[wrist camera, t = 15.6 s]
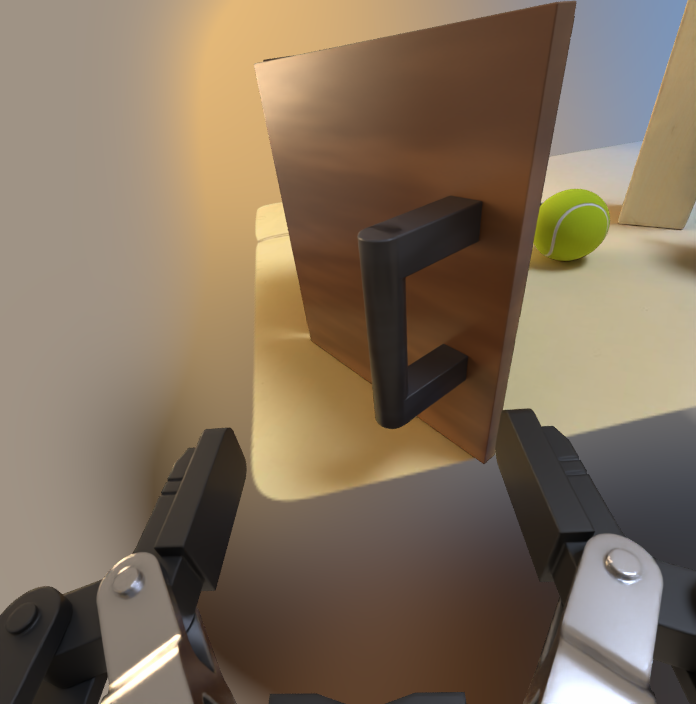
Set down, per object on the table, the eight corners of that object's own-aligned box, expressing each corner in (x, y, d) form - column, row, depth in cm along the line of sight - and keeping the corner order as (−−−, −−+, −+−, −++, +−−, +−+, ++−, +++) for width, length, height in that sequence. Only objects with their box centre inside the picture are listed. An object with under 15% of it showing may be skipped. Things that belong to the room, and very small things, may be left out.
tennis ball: (516, 249, 45) (526, 185, 40) (579, 242, 44) (595, 177, 40) (541, 275, 39) (555, 204, 35) (612, 268, 38) (635, 195, 34)
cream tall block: (692, 231, 43) (803, -27, 31) (616, 224, 47) (687, -7, 35) (695, 209, 48) (792, -21, 36) (625, 204, 52) (691, -4, 39)
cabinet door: (419, 524, 19) (417, 10, 8) (257, 367, 32) (162, 74, 20) (494, 454, 22) (577, 0, 11) (319, 335, 34) (268, 62, 23)
